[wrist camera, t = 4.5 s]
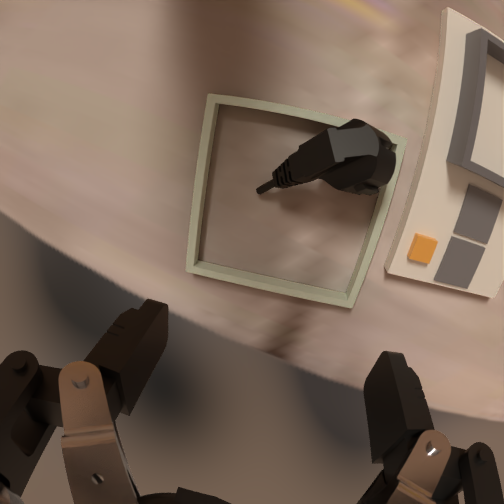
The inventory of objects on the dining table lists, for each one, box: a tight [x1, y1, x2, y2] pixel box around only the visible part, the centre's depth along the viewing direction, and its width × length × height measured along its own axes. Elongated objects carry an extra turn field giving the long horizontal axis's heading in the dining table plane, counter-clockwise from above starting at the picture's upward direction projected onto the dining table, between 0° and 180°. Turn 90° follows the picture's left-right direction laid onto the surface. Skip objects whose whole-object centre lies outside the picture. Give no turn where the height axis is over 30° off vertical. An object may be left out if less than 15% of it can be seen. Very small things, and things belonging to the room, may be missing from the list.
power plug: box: [256, 119, 396, 195], centre depth 24 cm, size 6×8×12 cm
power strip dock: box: [384, 7, 504, 298], centre depth 20 cm, size 28×16×4 cm, turn 170°
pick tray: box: [186, 93, 407, 308], centre depth 27 cm, size 18×18×2 cm
